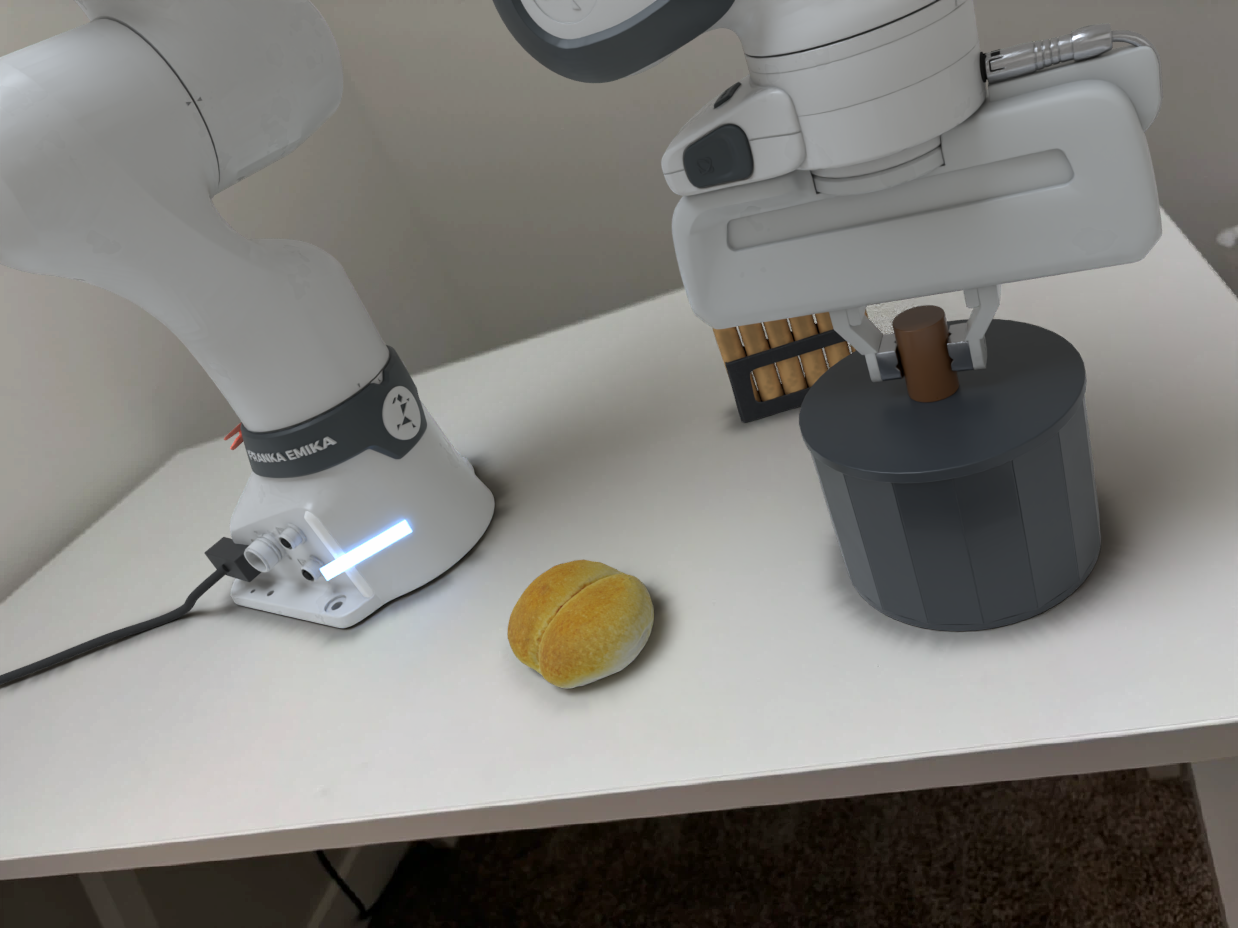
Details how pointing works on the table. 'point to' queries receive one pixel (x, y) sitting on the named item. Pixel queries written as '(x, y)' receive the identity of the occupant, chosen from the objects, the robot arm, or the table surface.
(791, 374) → the ammunition clip
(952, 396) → the lid
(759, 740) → the table surface
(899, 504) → the pot
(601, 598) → the bread roll
